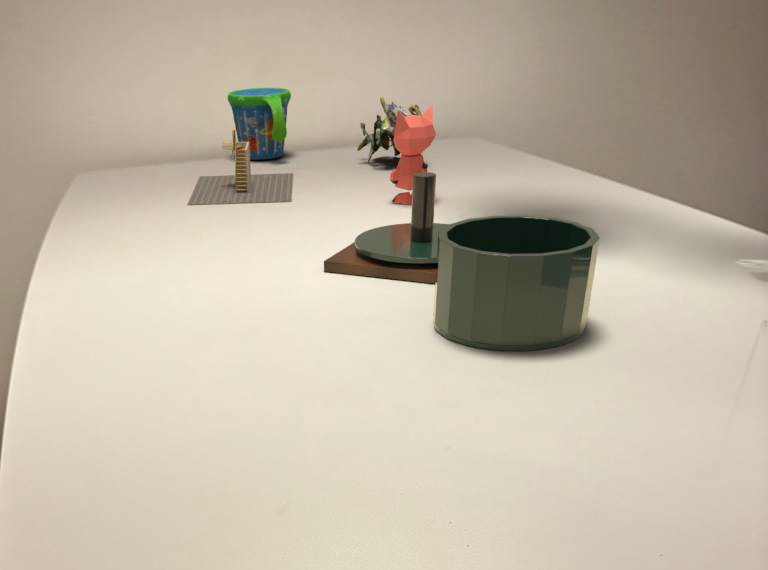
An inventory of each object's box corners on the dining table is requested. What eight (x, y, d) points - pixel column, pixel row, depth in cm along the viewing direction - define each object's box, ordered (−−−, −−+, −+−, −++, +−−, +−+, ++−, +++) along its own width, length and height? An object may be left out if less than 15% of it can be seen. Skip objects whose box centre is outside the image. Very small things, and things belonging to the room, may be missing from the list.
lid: (505, 239, 114) (512, 164, 109) (463, 275, 103) (469, 194, 98) (384, 228, 120) (386, 157, 115) (332, 261, 109) (332, 184, 104)
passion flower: (411, 199, 160) (426, 143, 149) (348, 187, 160) (358, 130, 149) (419, 147, 164) (434, 89, 152) (358, 135, 164) (368, 76, 152)
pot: (599, 311, 96) (613, 222, 91) (563, 359, 86) (577, 262, 81) (461, 295, 102) (467, 210, 96) (412, 339, 91) (416, 247, 86)
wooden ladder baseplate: (187, 204, 140) (181, 144, 135) (199, 176, 155) (195, 121, 151) (291, 201, 139) (289, 140, 134) (293, 173, 155) (291, 118, 150)
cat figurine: (416, 193, 140) (420, 101, 133) (445, 201, 136) (451, 106, 128) (377, 200, 138) (379, 107, 130) (405, 209, 133) (409, 112, 126)
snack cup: (220, 152, 171) (216, 88, 165) (275, 147, 174) (273, 83, 168) (247, 168, 160) (243, 99, 153) (305, 161, 162) (304, 94, 156)
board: (513, 250, 115) (515, 240, 114) (472, 288, 103) (472, 277, 103) (376, 237, 121) (377, 227, 121) (323, 271, 110) (323, 260, 109)
